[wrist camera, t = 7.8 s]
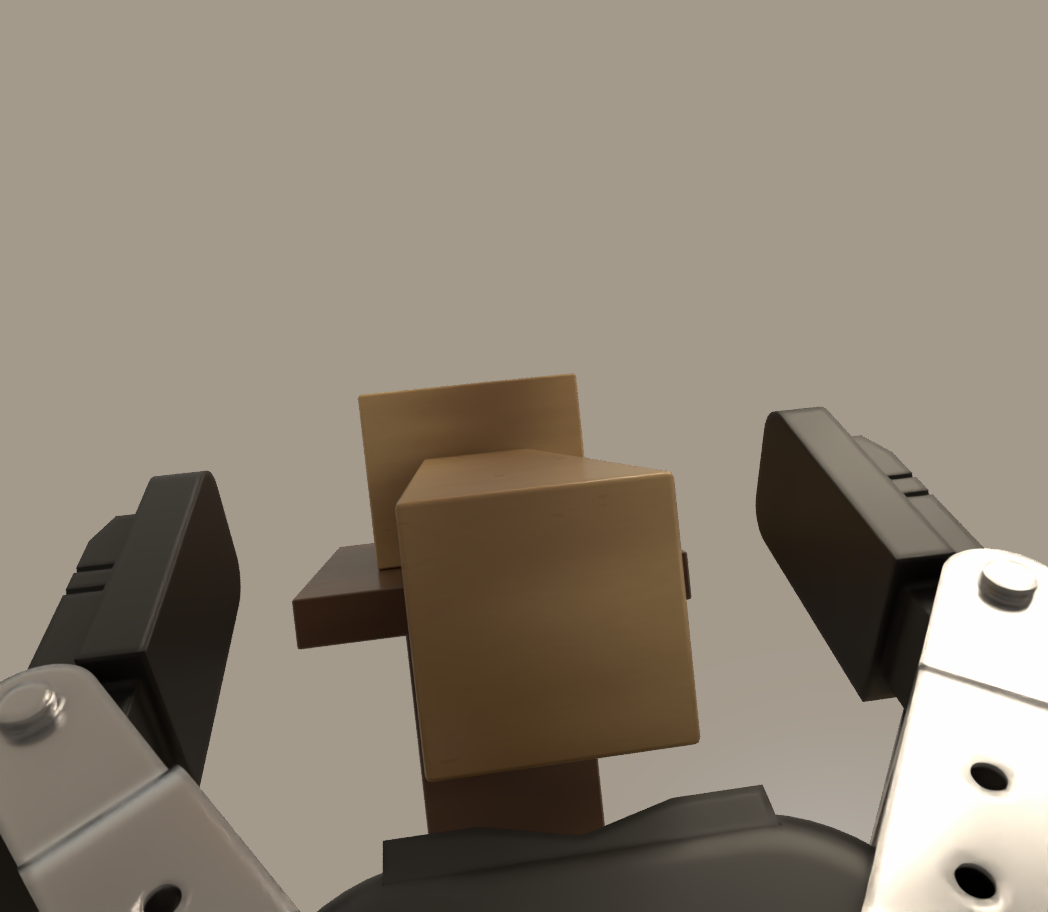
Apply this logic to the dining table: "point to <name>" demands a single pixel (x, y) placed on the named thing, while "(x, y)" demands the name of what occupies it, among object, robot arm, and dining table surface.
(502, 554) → the light wood mallet shape
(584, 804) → the brown pedestal stand
